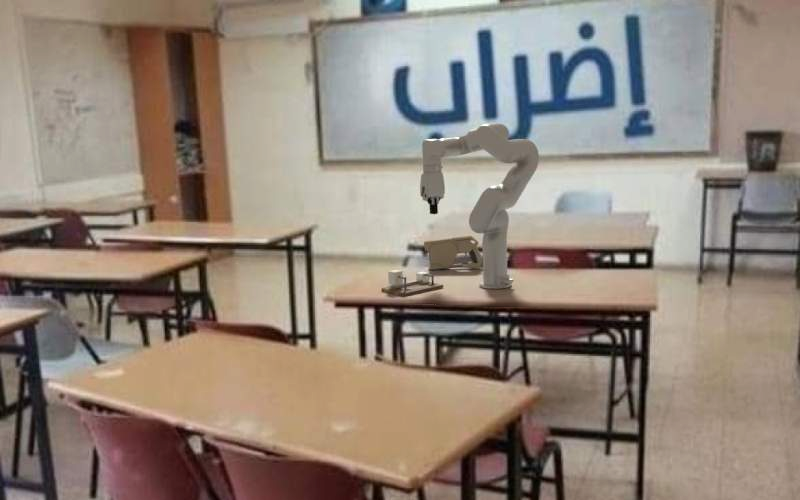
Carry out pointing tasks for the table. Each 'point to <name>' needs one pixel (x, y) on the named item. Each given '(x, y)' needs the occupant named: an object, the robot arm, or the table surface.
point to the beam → (420, 278)
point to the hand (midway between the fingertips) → (433, 213)
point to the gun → (452, 252)
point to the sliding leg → (396, 278)
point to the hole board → (413, 289)
